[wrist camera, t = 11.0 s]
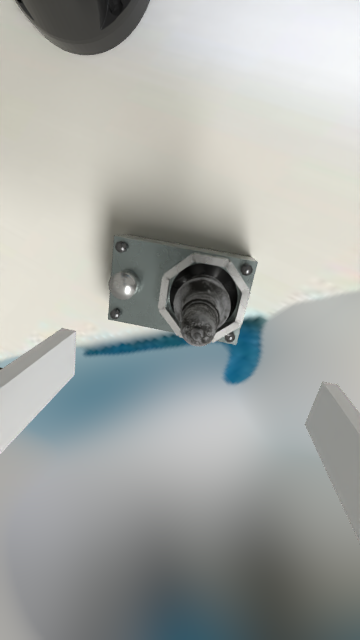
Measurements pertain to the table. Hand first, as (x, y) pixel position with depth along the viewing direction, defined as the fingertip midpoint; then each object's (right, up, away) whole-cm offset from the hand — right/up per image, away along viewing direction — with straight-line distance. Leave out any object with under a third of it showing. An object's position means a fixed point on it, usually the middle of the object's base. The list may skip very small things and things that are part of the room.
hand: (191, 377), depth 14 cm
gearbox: (0, +8, +21) cm, 23 cm away
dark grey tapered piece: (+2, +6, +17) cm, 18 cm away
